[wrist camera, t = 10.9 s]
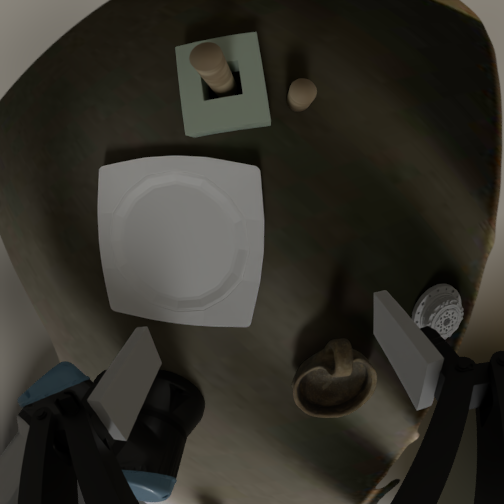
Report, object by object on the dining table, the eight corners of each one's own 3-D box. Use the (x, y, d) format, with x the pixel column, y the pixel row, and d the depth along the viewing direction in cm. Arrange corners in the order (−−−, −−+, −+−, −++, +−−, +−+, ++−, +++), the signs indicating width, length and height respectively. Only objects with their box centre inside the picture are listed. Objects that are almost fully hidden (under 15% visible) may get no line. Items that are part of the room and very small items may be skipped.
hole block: (194, 137, 36) (185, 134, 32) (184, 57, 32) (175, 47, 28) (270, 125, 35) (270, 121, 31) (257, 44, 31) (256, 31, 27)
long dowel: (215, 100, 34) (190, 73, 22) (213, 80, 33) (188, 46, 21) (238, 97, 34) (224, 66, 22) (235, 76, 33) (220, 39, 21)
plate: (102, 158, 37) (92, 159, 35) (269, 158, 37) (270, 158, 34) (113, 307, 45) (106, 315, 42) (258, 324, 44) (257, 334, 42)
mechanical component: (457, 274, 40) (409, 293, 41) (470, 285, 36) (420, 306, 37) (456, 322, 42) (411, 341, 44) (467, 334, 38) (421, 356, 40)
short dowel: (288, 112, 34) (291, 104, 29) (284, 91, 33) (287, 79, 28) (311, 111, 34) (318, 102, 28) (307, 89, 33) (314, 77, 27)
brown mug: (290, 398, 48) (293, 440, 39) (290, 319, 43) (295, 360, 34) (362, 391, 47) (375, 429, 38) (376, 312, 42) (398, 349, 33)
